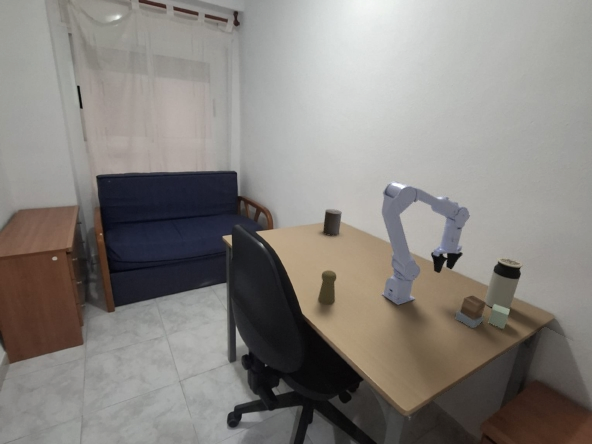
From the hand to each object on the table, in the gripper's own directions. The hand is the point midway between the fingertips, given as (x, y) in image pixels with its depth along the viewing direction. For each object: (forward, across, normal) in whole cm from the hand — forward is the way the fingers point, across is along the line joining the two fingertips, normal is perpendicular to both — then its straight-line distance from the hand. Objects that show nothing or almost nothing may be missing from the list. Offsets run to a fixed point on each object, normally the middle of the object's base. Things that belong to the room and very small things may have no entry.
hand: (443, 270), depth 112 cm
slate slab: (+11, -6, -16) cm, 20 cm away
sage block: (+10, +2, -21) cm, 24 cm away
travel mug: (+11, +14, -15) cm, 23 cm away
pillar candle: (+11, +3, +74) cm, 75 cm away
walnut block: (+8, -6, -16) cm, 19 cm away
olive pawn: (+11, -43, +15) cm, 47 cm away
